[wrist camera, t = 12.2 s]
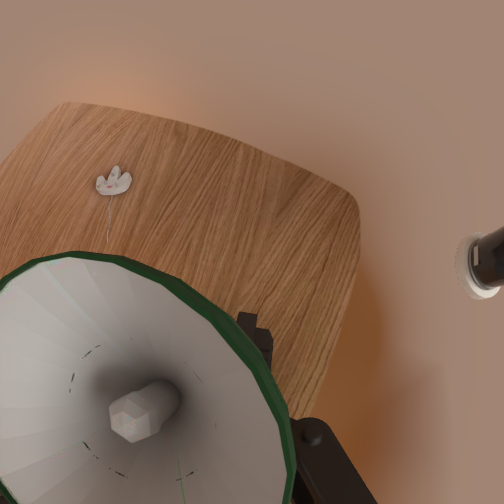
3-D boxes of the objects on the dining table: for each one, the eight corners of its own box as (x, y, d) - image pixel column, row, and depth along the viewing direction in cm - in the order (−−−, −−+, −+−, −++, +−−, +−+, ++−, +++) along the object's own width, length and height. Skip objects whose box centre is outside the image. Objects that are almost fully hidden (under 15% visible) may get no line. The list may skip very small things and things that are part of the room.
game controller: (130, 164, 42) (124, 156, 39) (143, 229, 39) (137, 223, 37) (99, 178, 41) (92, 170, 39) (108, 243, 39) (100, 237, 36)
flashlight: (234, 396, 21) (191, 617, 1) (176, 365, 21) (-53, 437, 2) (265, 340, 22) (390, 379, 3) (207, 308, 22) (32, 180, 3)
